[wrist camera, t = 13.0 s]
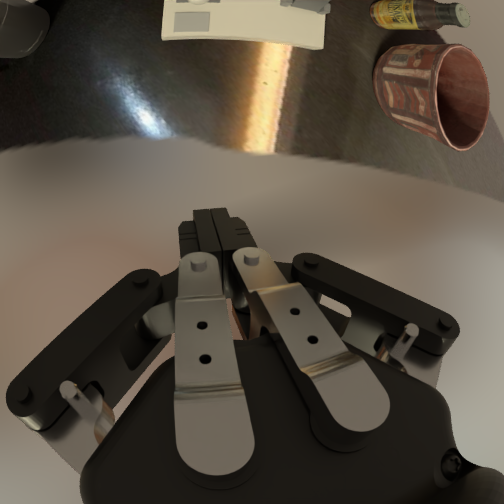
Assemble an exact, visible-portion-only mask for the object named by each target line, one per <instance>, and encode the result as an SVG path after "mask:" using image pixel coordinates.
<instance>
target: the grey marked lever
mask: <svg viewBox="0 0 504 504" xmlns="http://www.w3.org/2000/svg"><path fill="white" fill-rule="evenodd" d="M188 2H190V3H191V4H194V5H202V4H205V3H207V2H208V3H220V0H176V3H188Z"/></svg>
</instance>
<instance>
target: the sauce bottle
mask: <svg viewBox="0 0 504 504" xmlns="http://www.w3.org/2000/svg"><path fill="white" fill-rule="evenodd" d="M370 15H371V17H372V20H373V21H374V23H375V24H377V25H378V26H379V27H381V28H384V29H416V30H425V29H426V30H436V29H439V28H441V27H442V26H443V25H457V26H459V27H468V26H469V25H470V16H469V13H468V11H467V10H466V8H465V7H464V6H463V5H462V4H460V3H451V4H446V3H445V4H443V3H438V2H436V1H434V0H382V1H378V2H376V3H373V4H372V5H371V7H370Z"/></svg>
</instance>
